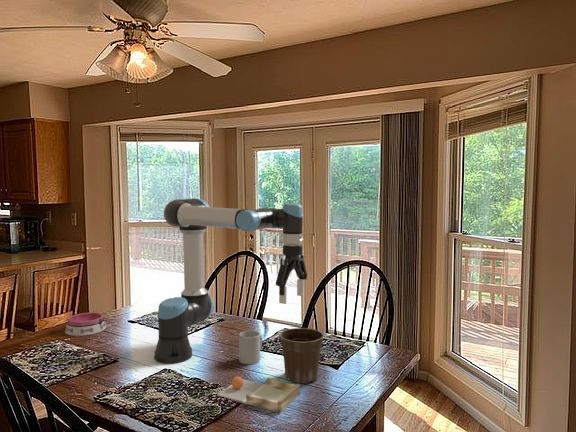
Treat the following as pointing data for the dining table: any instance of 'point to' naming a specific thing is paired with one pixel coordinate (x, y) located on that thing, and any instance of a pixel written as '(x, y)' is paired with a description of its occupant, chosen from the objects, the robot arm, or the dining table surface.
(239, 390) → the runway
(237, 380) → the ball
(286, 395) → the fence
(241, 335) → the mug
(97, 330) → the dog bowl
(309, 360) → the plant pot
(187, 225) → the robot arm
